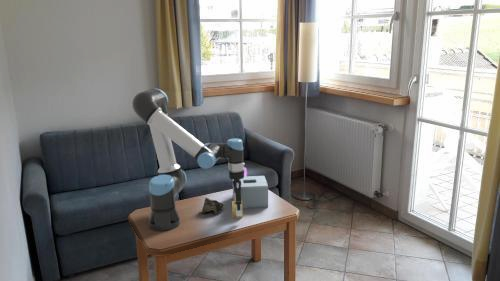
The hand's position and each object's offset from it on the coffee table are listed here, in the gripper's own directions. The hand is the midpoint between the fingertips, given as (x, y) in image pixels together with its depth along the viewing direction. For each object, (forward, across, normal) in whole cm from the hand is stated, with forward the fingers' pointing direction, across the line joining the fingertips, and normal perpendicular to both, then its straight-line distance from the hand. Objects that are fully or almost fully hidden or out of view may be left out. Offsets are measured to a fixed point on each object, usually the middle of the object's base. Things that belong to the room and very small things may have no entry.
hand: (238, 210), depth 207 cm
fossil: (+4, +8, +13) cm, 16 cm away
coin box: (+4, +18, -7) cm, 20 cm away
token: (+4, 0, +1) cm, 4 cm away
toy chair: (+4, +32, -7) cm, 33 cm away
